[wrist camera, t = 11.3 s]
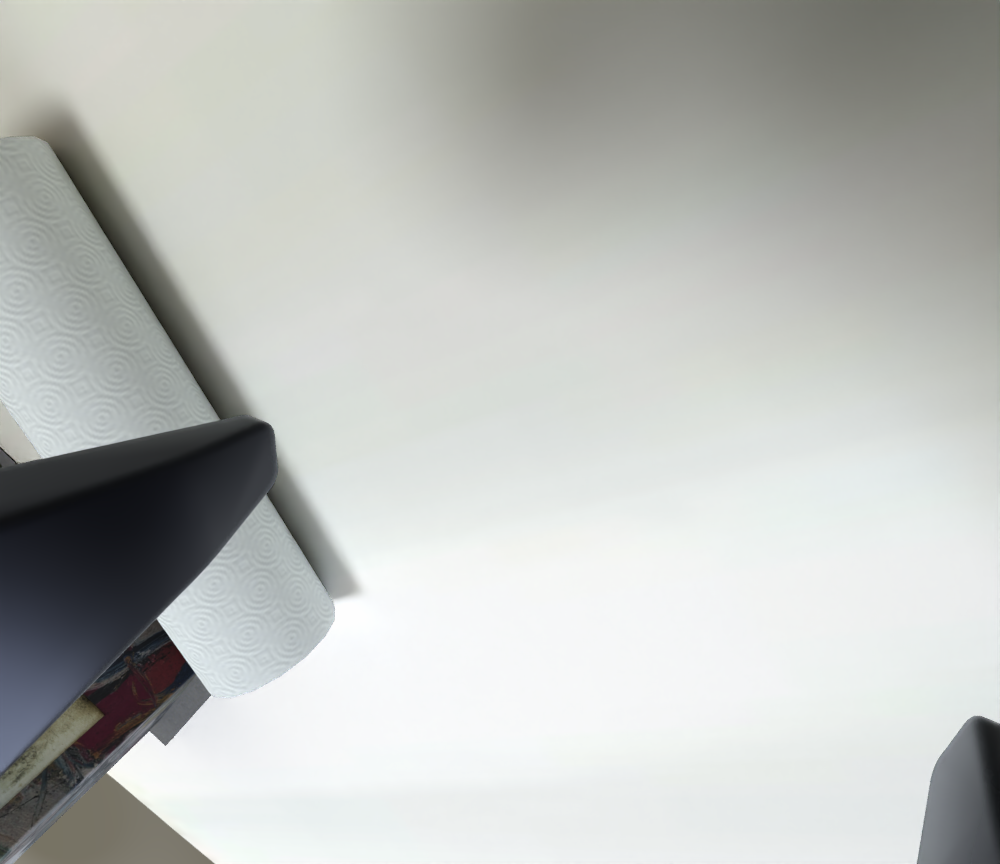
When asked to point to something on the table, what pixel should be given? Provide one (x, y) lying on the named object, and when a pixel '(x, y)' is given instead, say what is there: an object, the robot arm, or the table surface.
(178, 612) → the paper towel roll
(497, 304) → the table surface
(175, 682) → the row of books
